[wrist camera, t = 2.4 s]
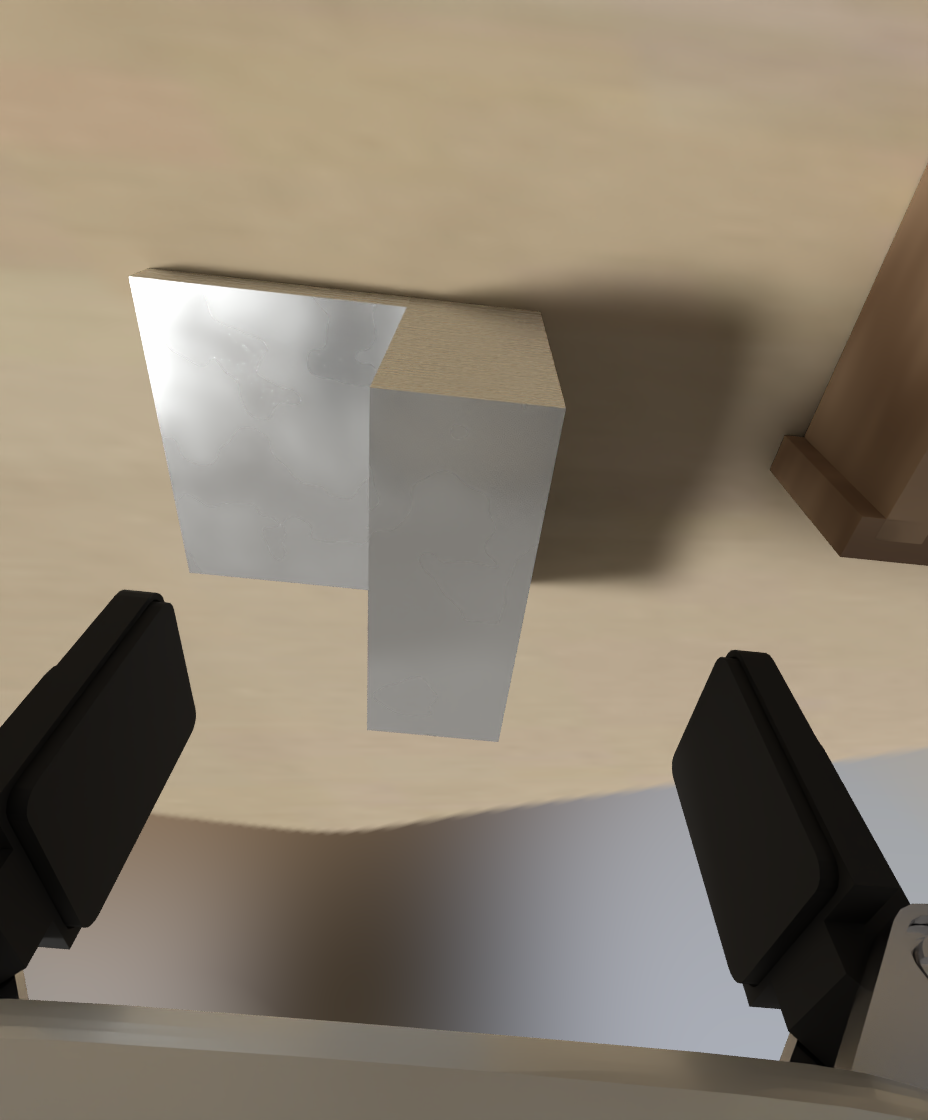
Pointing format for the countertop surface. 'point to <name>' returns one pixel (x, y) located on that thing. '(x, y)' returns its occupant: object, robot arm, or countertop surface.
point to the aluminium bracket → (365, 468)
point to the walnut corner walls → (874, 417)
